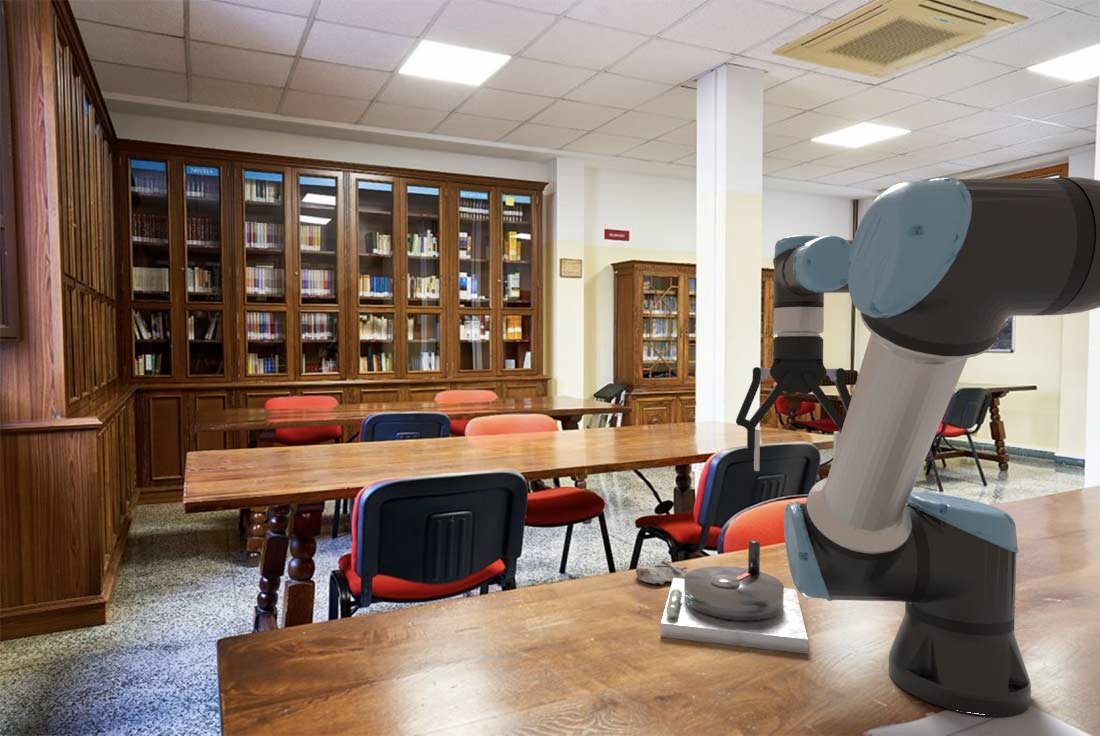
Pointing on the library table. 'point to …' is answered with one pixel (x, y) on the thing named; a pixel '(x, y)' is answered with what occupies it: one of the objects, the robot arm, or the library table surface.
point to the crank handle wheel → (735, 590)
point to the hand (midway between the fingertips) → (796, 471)
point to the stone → (661, 572)
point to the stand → (735, 625)
